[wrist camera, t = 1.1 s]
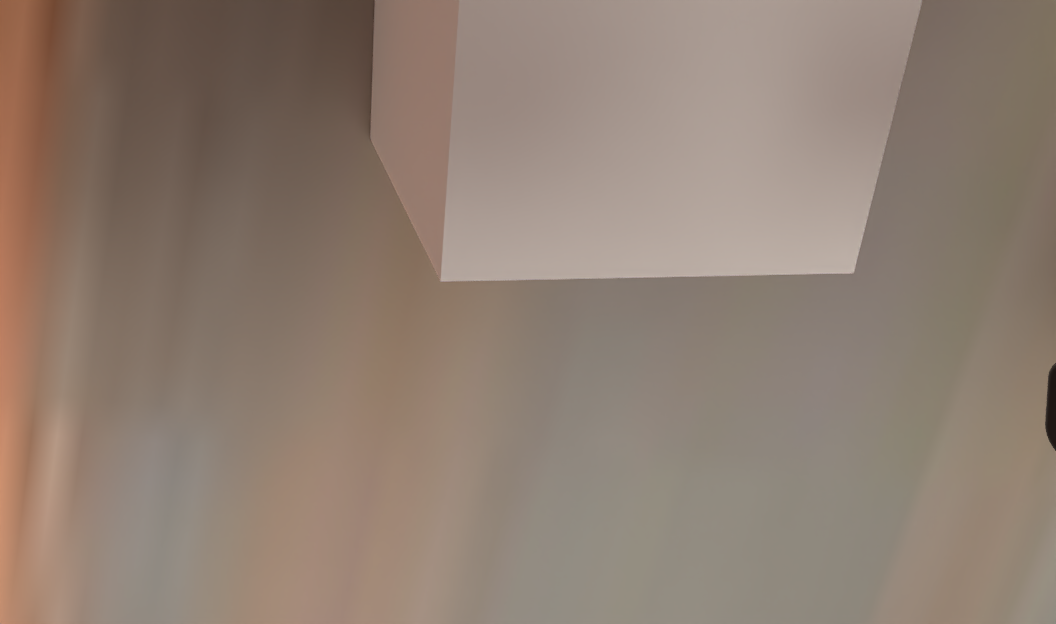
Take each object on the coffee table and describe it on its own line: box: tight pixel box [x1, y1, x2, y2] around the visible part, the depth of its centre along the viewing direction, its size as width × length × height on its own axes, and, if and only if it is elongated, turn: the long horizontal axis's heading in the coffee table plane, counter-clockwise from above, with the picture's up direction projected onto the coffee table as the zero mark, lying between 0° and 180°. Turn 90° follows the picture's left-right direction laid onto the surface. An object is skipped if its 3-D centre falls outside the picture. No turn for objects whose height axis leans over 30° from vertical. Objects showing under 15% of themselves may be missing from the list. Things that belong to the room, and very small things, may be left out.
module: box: [370, 0, 922, 282], centre depth 17 cm, size 6×4×7 cm
